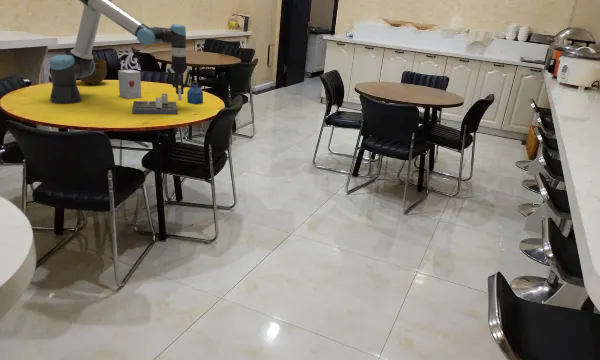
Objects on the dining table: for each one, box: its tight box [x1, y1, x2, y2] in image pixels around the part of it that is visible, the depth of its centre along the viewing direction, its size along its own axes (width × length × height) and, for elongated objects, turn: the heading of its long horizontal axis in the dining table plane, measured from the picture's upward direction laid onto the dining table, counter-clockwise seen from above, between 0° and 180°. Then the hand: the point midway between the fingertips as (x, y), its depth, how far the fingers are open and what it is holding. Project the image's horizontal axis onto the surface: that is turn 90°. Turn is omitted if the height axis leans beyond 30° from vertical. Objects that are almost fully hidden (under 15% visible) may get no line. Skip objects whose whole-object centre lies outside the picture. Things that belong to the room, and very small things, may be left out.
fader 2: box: [161, 93, 169, 104], centre depth 247 cm, size 3×5×5 cm, turn 16°
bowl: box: [78, 58, 108, 85], centre depth 291 cm, size 19×19×15 cm
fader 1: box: [155, 96, 162, 108], centre depth 237 cm, size 3×5×5 cm, turn 16°
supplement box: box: [117, 69, 142, 100], centre depth 265 cm, size 9×9×15 cm
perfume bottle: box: [186, 81, 204, 105], centre depth 263 cm, size 6×6×12 cm
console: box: [131, 100, 178, 115], centre depth 243 cm, size 22×19×2 cm
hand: (179, 100), depth 250 cm, fingers closed
